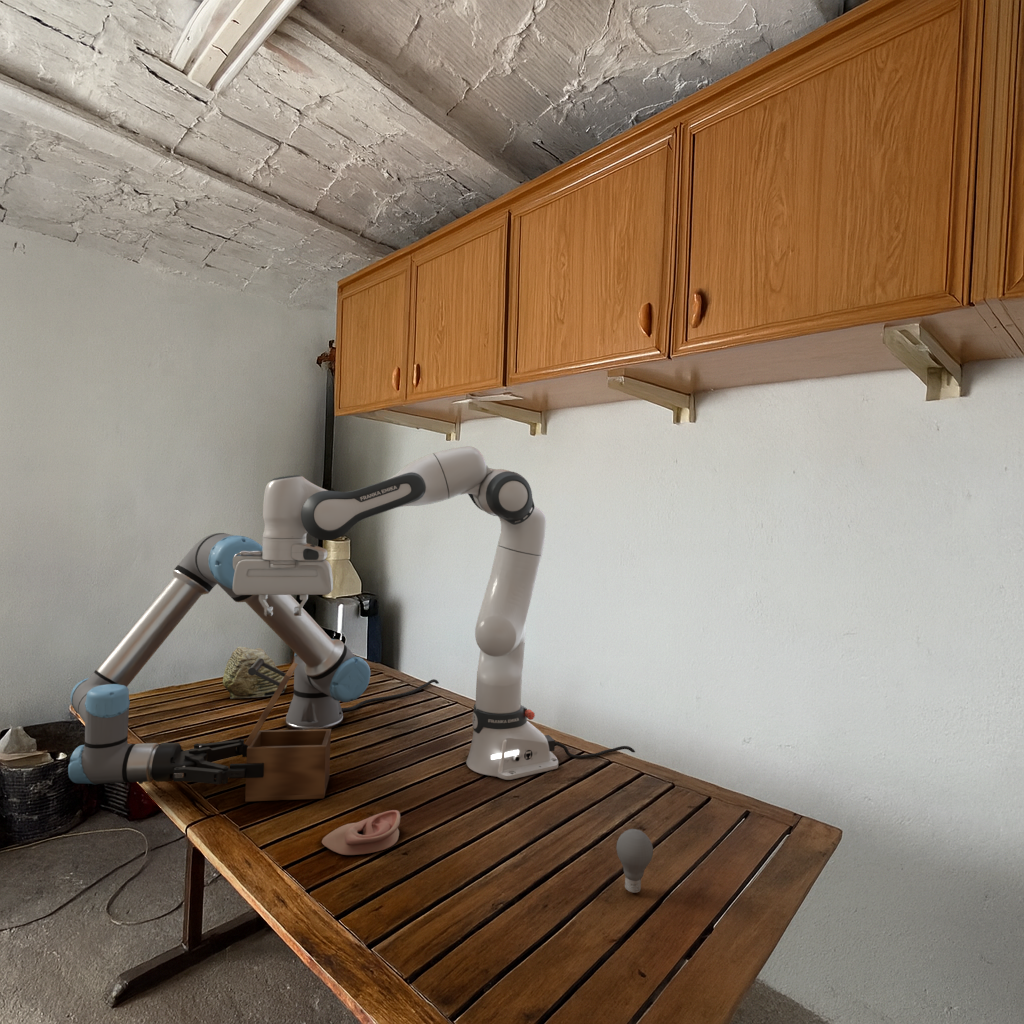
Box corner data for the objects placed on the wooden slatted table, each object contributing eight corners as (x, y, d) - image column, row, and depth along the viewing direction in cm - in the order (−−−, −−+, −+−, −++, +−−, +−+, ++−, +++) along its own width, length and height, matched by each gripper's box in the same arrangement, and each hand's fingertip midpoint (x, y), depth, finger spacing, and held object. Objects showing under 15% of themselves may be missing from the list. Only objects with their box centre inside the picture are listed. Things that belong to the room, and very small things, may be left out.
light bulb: (610, 879, 108) (613, 822, 108) (644, 879, 109) (647, 822, 109) (619, 902, 102) (622, 840, 102) (655, 901, 103) (658, 840, 103)
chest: (329, 777, 143) (331, 728, 143) (323, 798, 133) (325, 746, 133) (256, 780, 140) (257, 730, 140) (245, 801, 130) (246, 748, 130)
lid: (298, 664, 141) (264, 647, 140) (290, 677, 131) (254, 658, 130) (260, 728, 140) (226, 712, 139) (249, 746, 130) (212, 729, 129)
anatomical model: (313, 828, 113) (343, 799, 125) (313, 850, 113) (342, 819, 125) (383, 839, 111) (407, 808, 122) (382, 862, 111) (406, 829, 122)
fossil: (218, 695, 195) (220, 647, 195) (278, 685, 208) (279, 640, 207) (228, 703, 189) (230, 653, 188) (289, 692, 201) (290, 645, 201)
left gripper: (175, 758, 143) (278, 755, 147) (133, 806, 121) (256, 801, 125) (176, 725, 143) (279, 723, 147) (134, 767, 121) (257, 764, 124)
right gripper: (228, 551, 130) (227, 618, 131) (331, 552, 134) (330, 617, 134) (236, 549, 137) (235, 613, 137) (334, 550, 140) (333, 612, 140)
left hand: (268, 759), depth 136 cm, fingers closed on chest, 10 cm apart
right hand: (283, 615), depth 136 cm, fingers open, 5 cm apart
